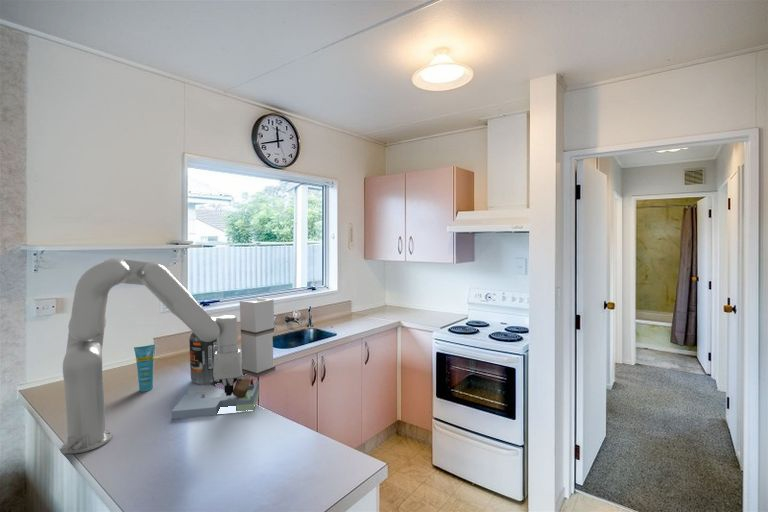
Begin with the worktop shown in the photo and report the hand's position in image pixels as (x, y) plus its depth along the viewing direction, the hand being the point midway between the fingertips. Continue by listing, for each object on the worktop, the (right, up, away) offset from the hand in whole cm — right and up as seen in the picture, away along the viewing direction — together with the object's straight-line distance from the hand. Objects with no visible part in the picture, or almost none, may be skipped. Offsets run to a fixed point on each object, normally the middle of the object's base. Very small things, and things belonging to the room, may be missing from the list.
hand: (229, 394), depth 146 cm
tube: (-43, -4, +17) cm, 46 cm away
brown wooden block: (+3, 0, +1) cm, 4 cm away
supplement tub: (-20, -3, +28) cm, 35 cm away
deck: (-4, -4, -1) cm, 6 cm away
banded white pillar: (-1, -3, +37) cm, 37 cm away
